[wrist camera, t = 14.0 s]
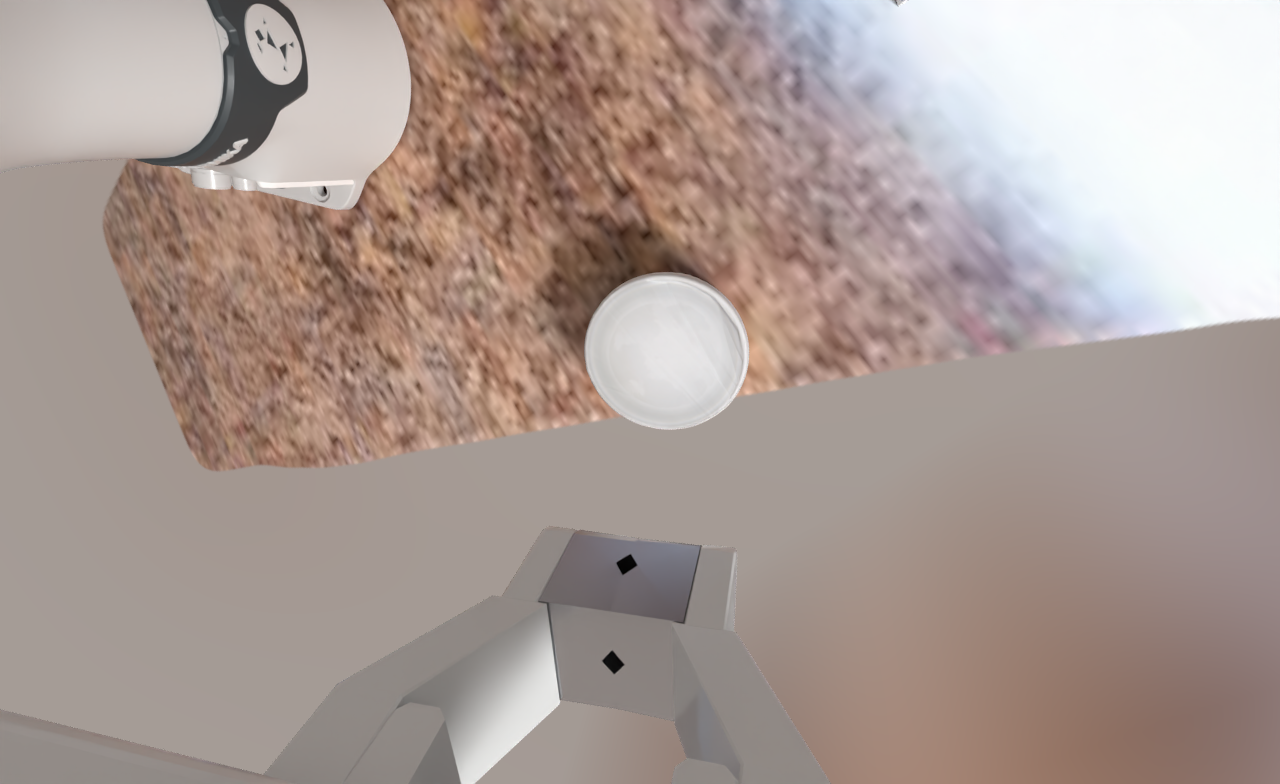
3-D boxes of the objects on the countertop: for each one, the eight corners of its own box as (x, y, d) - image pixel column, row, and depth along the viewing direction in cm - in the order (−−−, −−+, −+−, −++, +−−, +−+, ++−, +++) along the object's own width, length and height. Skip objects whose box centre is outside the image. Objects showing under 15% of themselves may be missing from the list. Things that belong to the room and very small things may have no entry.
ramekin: (777, 298, 42) (778, 318, 37) (711, 424, 47) (705, 456, 42) (634, 234, 42) (617, 245, 38) (583, 366, 47) (562, 390, 42)
